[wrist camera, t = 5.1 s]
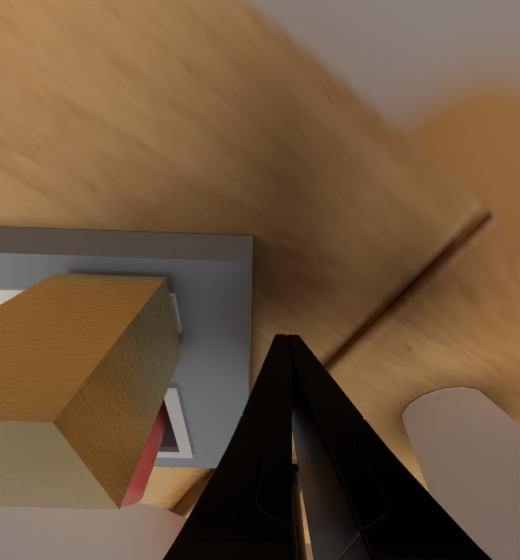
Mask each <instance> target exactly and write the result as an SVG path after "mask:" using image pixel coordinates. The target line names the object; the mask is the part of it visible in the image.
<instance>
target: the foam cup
mask: <svg viewBox="0 0 520 560" xmlns="http://www.w3.org/2000/svg"><path fill="white" fill-rule="evenodd" d="M402 419H403V424H404V426H405V428H406V433H407V435H408V438H409V440H410V443H411V446H412V448H413V451H414V454H415V456H416V459H417V461H418V464H419V467H420V469H421V472H422V474H423V477H424V480H425V482H426V485H427V488H428V490H429V493H430V495H431V496H432V497H433V498H434V499H435V500H436V501H437V502H438V503H439V504H440V505H441V506H442V508H443V509H444V510H445V511H446V512H447V513H448V514H449V515H450V516H451V517H452V518H453V519H454V521H455V522H456V523H457V524H458V525H459V526H460V527H461V528H462V529H463V530H464V531H465V532H466V534H467V535H468V536H469V537H470V538H471V539H472V540H473V541H474V542H475V543H476V544H477V545H478V546H479V547H480V548H481V549H482V550H483V551H484V552H485V553H486V554H487V555H488V556H489V557H490V558H491V559H492V560H520V425H518V424H517V423H516V422H515V421H514V420H513V419H512V418H511V417H509V416H508V415H507V414H506V413H505V412H504V411H503V410H502V409H500V408H499V407H498V406H497V405H496V404H495V403H494V402H493V401H491V400H490V399H489V398H487V397H486V396H485V395H484V394H483V393H482V392H481V391H480V390H477V389H472V388H468V387H452V388H442V389H439V390H436V391H433V392H430V393H427V394H424V395H422V396H421V397H419V398H418V399H416V400H415V401H413V402H412V403H410V404H409V405H408V406H407V408H406V409H405V411H404V412H403V414H402Z"/></svg>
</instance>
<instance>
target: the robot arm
mask: <svg viewBox="0 0 520 560" xmlns="http://www.w3.org/2000/svg"><path fill="white" fill-rule="evenodd" d="M292 432H293V438H294V444H295V450H296V456H297V463H298V467H292ZM301 488H302V493H303V499H304V505H305V511H306V517H307V523H308V529H309V535H310V541H311V546H312V553H313V559H314V560H492V559H491V558H490V557H489V556H488V555H487V554H486V553H485V552H484V551H483V550H482V549H481V548H480V547H479V546H478V545H477V544H476V543H475V542H474V541H473V540H472V539H471V538H470V537H469V536H468V535H467V534H466V532H465V531H464V530H463V529H462V528H461V527H460V526H459V525H458V524H457V523H456V522H455V521H454V519H453V518H452V517H451V516H450V515H449V514H448V513H447V512H446V511H445V510H444V509H443V508H442V506H441V505H440V504H439V503H438V502H437V501H436V500H435V499H434V498H433V497H432V496H431V495H430V493H429V492H428V491H427V490H426V489H425V488H424V487H423V486H422V485H421V484H420V483H419V482H418V480H417V479H416V478H415V477H414V476H413V475H412V474H411V473H410V472H409V471H408V469H407V468H406V467H405V466H404V465H403V464H402V463H401V462H400V461H399V459H398V458H397V457H396V456H395V455H394V454H393V453H392V452H391V450H390V449H389V448H388V447H387V446H386V444H385V443H384V442H383V441H382V439H381V438H380V437H379V436H378V435H377V433H376V432H375V431H374V430H373V428H372V427H371V426H370V425H369V423H368V422H367V421H366V420H365V419H364V420H363V416H362V415H361V413H360V412H359V411H358V410H357V408H356V407H355V406H354V404H353V403H352V402H351V401H350V399H349V398H348V397H347V396H346V394H345V393H344V392H343V391H342V389H341V388H340V387H339V386H338V384H337V383H336V382H335V380H334V379H333V378H332V377H331V375H330V374H329V373H328V372H327V370H326V369H325V368H324V367H323V365H322V364H321V363H320V361H319V360H318V359H317V358H316V356H315V355H314V354H313V353H312V351H311V350H310V349H309V348H308V346H307V345H306V344H305V343H304V341H303V340H302V339H301V337H300V336H299V335H290V334H289V335H286V334H276V335H275V337H274V339H273V342H272V344H271V346H270V349H269V351H268V353H267V356H266V358H265V361H264V363H263V365H262V368H261V370H260V372H259V375H258V377H257V380H256V382H255V384H254V387H253V389H252V391H251V394H250V396H249V399H248V401H247V403H246V406H245V408H244V411H243V413H242V416H241V417H240V420H239V422H238V424H237V427H236V429H235V431H234V433H233V436H232V438H231V440H230V442H229V444H228V446H227V448H226V450H225V452H224V454H223V456H222V458H221V460H220V462H219V464H218V466H217V467H216V469H215V471H214V473H213V475H212V476H211V478H210V480H209V482H208V483H207V485H206V487H205V489H204V490H203V492H202V494H201V496H200V498H199V499H198V501H197V503H196V505H195V506H194V508H193V510H192V512H191V513H190V515H189V517H188V519H187V521H186V522H185V524H184V526H183V528H182V529H181V531H180V533H179V534H178V536H177V538H176V539H175V541H174V543H173V544H172V546H171V547H170V549H169V551H168V552H167V554H166V555H165V557H164V558H163V560H307V557H306V547H305V537H304V528H303V519H302V510H301V500H300V491H301Z"/></svg>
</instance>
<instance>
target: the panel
mask: <svg viewBox="0 0 520 560" xmlns="http://www.w3.org/2000/svg"><path fill="white" fill-rule="evenodd" d="M252 264H253V236H246V235H218V234H191V233H163V232H136V231H108V230H80V229H53V228H25V227H0V305H1V304H2V303H4V302H6V301H8V300H9V299H11V298H13V297H15V296H16V295H18V294H20V293H21V292H23V291H25V290H27V289H28V288H30V287H32V286H34V285H35V284H37V283H39V282H40V281H42V280H44V279H46V278H47V277H49V276H51V275H53V274H54V273H57V274H86V275H115V276H143V277H166V280H167V285H168V290H169V295H170V300H171V305H172V310H173V315H174V320H175V325H176V330H177V335H178V340H179V345H180V350H181V358H180V360H179V363H178V365H177V368H176V370H175V372H174V375H173V377H172V380H171V382H170V385H169V387H168V390H167V392H166V395H165V397H164V400H165V404H166V407H167V411H168V414H169V417H170V420H169V423H168V426H167V429H166V431H165V434H164V437H163V440H162V443H161V446H160V449H159V451H158V454H157V457H156V460H155V463H154V466H156V467H191V468H216V467H217V466H218V464H219V462H220V460H221V458H222V456H223V454H224V452H225V450H226V448H227V446H228V444H229V442H230V440H231V438H232V436H233V433H234V431H235V429H236V427H237V424H238V422H239V420H240V417H241V416H242V413H243V411H244V408H245V406H246V403H247V401H248V399H249V396H250V369H251V316H252Z"/></svg>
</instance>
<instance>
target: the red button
mask: <svg viewBox="0 0 520 560" xmlns="http://www.w3.org/2000/svg"><path fill="white" fill-rule="evenodd" d="M169 420H170V417H169V414H168V411H167V407H166V404H165V400H163V402H162V405H161V407H160V410H159V412H158V415H157V417H156V420H155V422H154V425H153V427H152V430H151V432H150V434H149V437H148V439H147V442H146V444H145V447H144V449H143V452H142V454H141V457H140V459H139V462H138V464H137V467H136V469H135V472H134V474H133V477H132V479H131V482H130V484H129V487H128V489H127V492H126V494H125V497H124V499H123V501H122V504H121V506H120V507H123V506H129V505H132V504H135V503H137V502H139V501H140V500H141V499H142V497H143V494H144V491H145V489H146V486H147V483H148V480H149V477H150V474H151V471H152V469H153V466H154V463H155V460H156V457H157V454H158V451H159V449H160V446H161V443H162V440H163V437H164V434H165V431H166V429H167V426H168V423H169Z"/></svg>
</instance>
